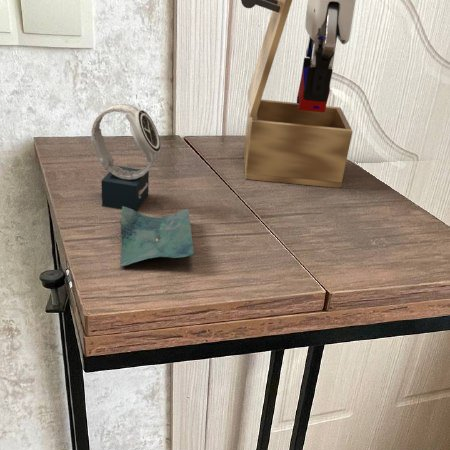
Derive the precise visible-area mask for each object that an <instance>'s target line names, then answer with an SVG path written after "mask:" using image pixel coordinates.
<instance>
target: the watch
mask: <svg viewBox="0 0 450 450" xmlns="http://www.w3.org/2000/svg"><path fill="white" fill-rule="evenodd" d="M114 112H115V113H121V114H124V116H125V118H126V119H127V121H128V123H129V127H130V132H131V134H132V137H133V139H134V142H135V144H136V145H137V147H138V148H139V150H140V151H141V152H142V153H143V154H145V157H146V160H147V162H148V165H147V166H145V167H144V168H143V169H140V168H135V167H134V168H133V167H127V166H120V165H117V164H116V163H115V162H114V161H115V159H114V158H113V156H112V154H111V152H110V150H109V149H108V146H107V144H106V142H105V138H104V135H102V129H101V122H102V120H103V118H104V117H105V116H106V115H107V114H110V113H114ZM90 142H91V145H92V147H93V151H94V153H95V155H96V157H97V159H98V161H99V163H100V164H101V166H102V167H103V169H104V170H105V171H108V173H107V174H106V175H105V176H104V177H103V178H102V179H101V180H100V181H101V183H100V184H101V206H102V207H106V208H112V209H120V210H122V206H124V207H127V208H130V209H132V210H135V211H136V212H138V210H139V209H140V207H141V206H142V205H143V203H144V202H145V201H146V199H147V197H148V196H149V185H150V184H149V181H150V180H149V178H150V177H149V174H150V173H149V171H150V169H151V168H152V167H153V165H154V164H155V163H156V161H157V159H158V156H159V153H160V151H161V148H162V147H161V146H162V145H161V139H160V134H159V131H158V129H157V127H156V124H155V123H154V121H153V119H152V118H151V116H150V115H149V114H148V113H147V112H146V111H145V110H144V109H139V108H138V107H137V106H134V105H131V104H128V103H118V104H112V105H111V106H109V107H107V108H106V109H105V110H103V111H102V112H101V113H100V114H99V115H98V116H96V118H95V119H94V121H93V123H92V128H91V138H90Z"/></svg>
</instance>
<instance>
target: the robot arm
mask: <svg viewBox="0 0 450 450" xmlns="http://www.w3.org/2000/svg"><path fill="white" fill-rule="evenodd" d="M355 8H356V0H307V5H306V15H305V22H304V23H305V25H304V26H305V27H304V28H305V30H306V32H307V34H308V39H307V44H306V50H305V57H304V58H303V63H302V70H301V73H302V72H303V67H307V68H308V70H307V76H306V83H305V89H304V95H303V97H304V99H305V100H309V101H319V102H326V101H327V98H328V99H329V97H328V93H329V87H330V88H331V81H332V76H333V70H334V69H333V67H334V60H335V54H336V49H337V48H336V47H337V41H338V40H339V42H340V43H341V44H342V45H347V43H349V41H350V38H351V32H352V25H353V19H354V13H355ZM329 94H330V93H329ZM327 102H328V101H327Z"/></svg>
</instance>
